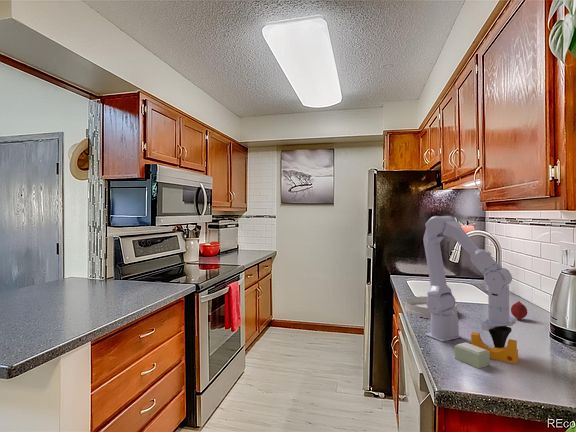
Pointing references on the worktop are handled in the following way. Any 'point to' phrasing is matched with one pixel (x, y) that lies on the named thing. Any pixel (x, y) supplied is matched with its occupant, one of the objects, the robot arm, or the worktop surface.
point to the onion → (518, 310)
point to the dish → (420, 307)
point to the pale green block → (472, 355)
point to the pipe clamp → (498, 349)
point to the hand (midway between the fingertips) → (499, 349)
